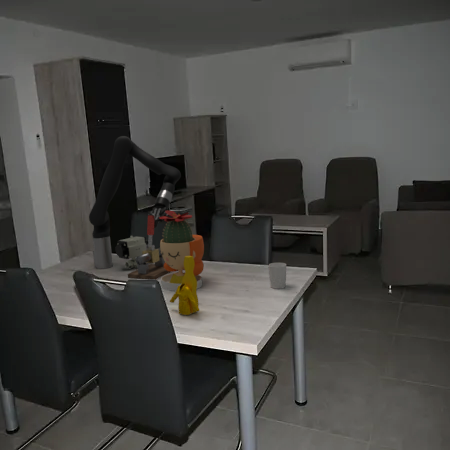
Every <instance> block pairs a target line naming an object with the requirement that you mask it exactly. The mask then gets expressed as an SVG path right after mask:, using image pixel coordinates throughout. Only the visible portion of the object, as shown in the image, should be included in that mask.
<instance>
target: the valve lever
mask: <svg viewBox="0 0 450 450" xmlns="http://www.w3.org/2000/svg"><path fill="white" fill-rule="evenodd" d="M146 232H147V233H146V235H147V236H148V239H147V240H148V245H147V248H149V249H152V248H151V246H152V245H153V236H154V235H155V228H154V216H153V215H152V216H150V215H148V214H147V230H146Z"/></svg>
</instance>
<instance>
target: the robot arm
mask: <svg viewBox="0 0 450 450" xmlns="http://www.w3.org/2000/svg"><path fill="white" fill-rule="evenodd" d="M113 145H114V146H113V150H112V154H111V158H110V160H109V162H108V164H107V167H106V169H105V171H104V173H103V177H102V180H101V183H100V186H99V189H98V192H97V195H96V199H95V202H94V204H93V206H92V208H91V210H90V212H89V215H88V220H89V222H90V224H91V225H93V231H92V242H93V251H92V254H93V255H92V256H93V264H94V268H96V269H108V268H111V267H113V265H114V264H113V254H112V245H111V237H110V236H111V234H110V232H111V225H110V224H111V223H110V220H111V219H110V215H109V212H108V209H109V205H110V203H111V201H112V199H113V198H114V197H115V194H116V192H117V190H118V188H119V185H120V183H121V179H122V176H123V170H124V166H125V163H126V161H127V158H128V156H130V157H132V158H133V159H135V160H137V161H138V162H140V163H141V164H142V165H143V166H144V167H146V168H147V169H149V170H150V171H152V172H153V173H155V174H156V175H159V176H161V175H165V177H164V178H163V182H162V185H161V188H160V191H159V193H158V195H157V197H156V200H155V201H154V205H153V208H152V210H151V211H147V216H148V215H150V216H154V229H156V227H157V226H158V225H159V222H163V221H164V220H165V219H159V217H163V216H167V217H170V215H168V214H167V213H166V212H165V211H167V210H168V211H169V208H170V204H171V202H172V199H173V196H174V194H175V193H174V192H175V189H176V187H175V185H176V184H177V182H179V180H180V179H181V177H182V174H181V171H180V170H179V169H178V168H176V167H175V166H172V165H170V164H166V163H164V162H163V161H161V160H160V159H158V158H156V157H155V156H153V155H151V154H150V153H148V152H146V151H145V150H143V149H142V148H141V147H139V146H138V145H137V144H136V143H135V142H134V141H133V140H131V138H130V137H129V136H126V135H121V136H118V137H117V138H116V139H115V141H114V144H113Z"/></svg>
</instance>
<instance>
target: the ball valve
mask: <svg viewBox="0 0 450 450" xmlns="http://www.w3.org/2000/svg"><path fill="white" fill-rule="evenodd" d="M146 245H148V239H146V236H138V235H137V236H133V235H130V237H128V238H125V239H120V240H117V244H116V246H115V247H114V249H115V255H116V256H117V257H119V258H120V259H124V260H127V261H125V268H126V269H129V268H130V269H129V270H131V269H134V268H136V269H138V267H137V263H136V257H138V256H140V255H142V251H144V250H146ZM129 259H130V260H129Z"/></svg>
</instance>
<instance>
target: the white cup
mask: <svg viewBox="0 0 450 450" xmlns="http://www.w3.org/2000/svg"><path fill="white" fill-rule="evenodd" d="M268 276H269V284H270V288H272V289H275V290H276V289H278V290H280V289H284V288H286V286H287V285H286V284H287V283H286V282H287V263H285V262H272V263H269V264H268Z"/></svg>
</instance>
